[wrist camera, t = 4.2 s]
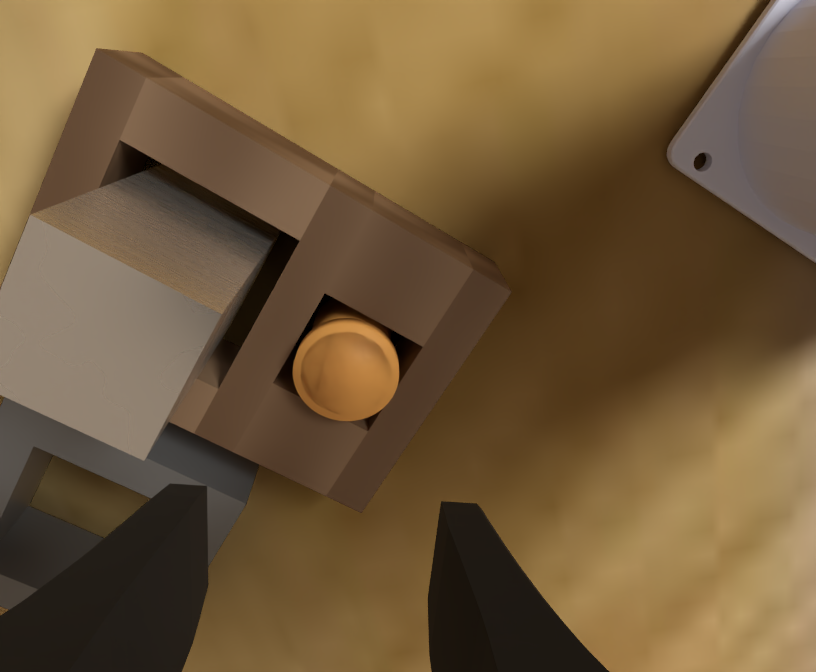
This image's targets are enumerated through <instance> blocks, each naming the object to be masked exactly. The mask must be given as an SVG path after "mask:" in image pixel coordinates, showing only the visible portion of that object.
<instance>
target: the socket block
mask: <svg viewBox="0 0 816 672" xmlns="http://www.w3.org/2000/svg"><path fill="white" fill-rule="evenodd" d="M148 156H150V157H151V158H153V159H155V160H157V161H159V162H160V163H162V164H164V165H166V166H167V167H169V168H171V169H173V170H175V171H176V172H178V173H180V174H182V175H184V176H185V177H187V178H189V179H191V180H192V181H194V182H196V183H198V184H200V185H201V186H203V187H205V188H207V189H208V190H210V191H212V192H214V193H216V194H217V195H219V196H221V197H223V198H225V199H226V200H228V201H230V202H232V203H233V204H235V205H237V206H239V207H241V208H242V209H244V210H246V211H248V212H249V213H251V214H253V215H255V216H257V217H258V218H260V219H262V220H264V221H266V222H267V223H269V224H271V225H273V226H274V227H276V228H278V229H280V230H282V231H283V232H285V233H287V234H289V235H290V236H292V237H294V238H296V239H298V240H299V243H298V245H297V246H296V248H295V250H294V252H293V254H292V255H291V257H290V259H289V261H288V263H287V265H286V266H285V268H284V270H283V272H282V274H281V276H280V277H279V279H278V281H277V283H276V285H275V286H274V288H273V290H272V292H271V294H270V296H269V297H268V299H267V301H266V303H265V305H264V307H263V308H262V310H261V312H260V314H259V316H258V317H257V319H256V321H255V323H254V325H253V327H252V328H251V330H250V332H249V334H248V336H247V337H246V339H245V341H244V343H243V345H242V347H239V346H237V345H235V344H233V343H231V342H229V341H227V340H225V339H223V338H222V339H221V341H220V343H219V344H218V346H217V347H216V349H215V350H214V352H213V354H212V355H211V357H210V358H209V360H208V361H207V363H206V365H205V366H204V368H203V369H202V371H201V372H200V374H199V376H198V377H197V379H196V380H195V382H194V383H193V385H192V387H191V388H190V390H189V391H188V393H187V394H186V396H185V398H184V399H183V401H182V402H181V404H180V405H179V407H178V409H177V410H176V412H175V413H174V415H173V416H172V418H171V420H170V421H169V422H171V423H173V424H175V425H177V426H179V427H181V428H183V429H185V430H188V431H190V432H192V433H194V434H196V435H198V436H200V437H202V438H204V439H207V440H209V441H211V442H213V443H215V444H217V445H219V446H221V447H223V448H225V449H228V450H230V451H232V452H234V453H236V454H238V455H240V456H242V457H244V458H247V459H249V460H251V461H253V462H255V463H257V464H259V465H261V466H263V467H265V468H268V469H270V470H272V471H274V472H276V473H278V474H280V475H282V476H284V477H287V478H289V479H291V480H293V481H295V482H297V483H299V484H301V485H303V486H306V487H308V488H310V489H312V490H314V491H316V492H318V493H320V494H322V495H324V496H327V497H329V498H331V499H333V500H335V501H337V502H339V503H341V504H343V505H346V506H348V507H350V508H352V509H354V510H356V511H358V512H360V513H362V512H363V510H364V509H365V507H366V506H367V504H368V503H369V501H370V500H371V498H372V497H373V495H374V494H375V492H376V491H377V490H378V488H379V487H380V485H381V484H382V482H383V481H384V479H385V478H386V476H387V475H388V473H389V472H390V470H391V469H392V467H393V466H394V464H395V463H396V462H397V460H398V459H399V457H400V456H401V454H402V453H403V451H404V450H405V448H406V447H407V445H408V444H409V442H410V441H411V439H412V438H413V437H414V435H415V434H416V432H417V431H418V429H419V428H420V426H421V425H422V423H423V422H424V420H425V419H426V417H427V416H428V414H429V413H430V412H431V410H432V409H433V407H434V406H435V404H436V403H437V401H438V400H439V398H440V397H441V395H442V394H443V392H444V391H445V389H446V388H447V387H448V385H449V384H450V382H451V381H452V379H453V378H454V376H455V375H456V373H457V372H458V370H459V369H460V367H461V366H462V364H463V363H464V362H465V360H466V359H467V357H468V356H469V354H470V353H471V351H472V350H473V348H474V347H475V345H476V344H477V342H478V341H479V339H480V338H481V337H482V335H483V334H484V332H485V331H486V329H487V328H488V326H489V325H490V323H491V322H492V320H493V319H494V317H495V316H496V314H497V313H498V312H499V310H500V309H501V307H502V306H503V304H504V303H505V301H506V300H507V298H508V297H509V295H510V294H511V290H510V288H509V286H508V285H507V283H506V281H505V279H504V278H503V276H502V274H501V272H500V271H499V269H498V267H497V266H496V264H495V262H493V261H492V260H490V259H488V258H487V257H485V256H483V255H482V254H480V253H478V252H476V251H475V250H473V249H471V248H470V247H468V246H466V245H465V244H463V243H461V242H460V241H458V240H456V239H455V238H453V237H451V236H450V235H448V234H446V233H445V232H443V231H441V230H439V229H438V228H436V227H434V226H433V225H431V224H429V223H428V222H426V221H424V220H423V219H421V218H419V217H418V216H416V215H414V214H413V213H411V212H409V211H407V210H406V209H404V208H402V207H401V206H399V205H397V204H396V203H394V202H392V201H391V200H389V199H387V198H386V197H384V196H382V195H381V194H379V193H377V192H375V191H374V190H372V189H370V188H369V187H367V186H365V185H364V184H362V183H360V182H359V181H357V180H355V179H354V178H352V177H350V176H349V175H347V174H345V173H344V172H342V171H340V170H338V169H337V168H335V167H333V166H332V165H330V164H328V163H327V162H325V161H323V160H322V159H320V158H318V157H317V156H315V155H313V154H312V153H310V152H308V151H306V150H305V149H303V148H301V147H300V146H298V145H296V144H295V143H293V142H291V141H290V140H288V139H286V138H285V137H283V136H281V135H280V134H278V133H276V132H274V131H273V130H271V129H269V128H268V127H266V126H264V125H263V124H261V123H259V122H258V121H256V120H254V119H253V118H251V117H249V116H248V115H246V114H244V113H243V112H241V111H239V110H237V109H236V108H234V107H232V106H231V105H229V104H227V103H226V102H224V101H222V100H221V99H219V98H217V97H216V96H214V95H212V94H211V93H209V92H207V91H205V90H204V89H202V88H200V87H199V86H197V85H195V84H194V83H192V82H190V81H189V80H187V79H185V78H184V77H182V76H180V75H179V74H177V73H175V72H174V71H172V70H170V69H168V68H167V67H165V66H163V65H162V64H160V63H158V62H157V61H155V60H153V59H152V58H150V57H148V56H147V55H145V54H143V53H139V52H128V51H118V50H108V49H98V48H96V51H95V53H94V56H93V58H92V61H91V63H90V66H89V68H88V71H87V73H86V76H85V78H84V81H83V83H82V86H81V88H80V91H79V93H78V96H77V98H76V101H75V103H74V106H73V108H72V111H71V113H70V116H69V118H68V121H67V123H66V126H65V128H64V131H63V133H62V136H61V138H60V141H59V143H58V146H57V148H56V151H55V153H54V156H53V158H52V161H51V163H50V166H49V168H48V171H47V173H46V176H45V178H44V181H43V183H42V186H41V188H40V191H39V193H38V196H37V198H36V201H35V203H34V206H33V208H32V211H31V213H30V215H31V214H33V213H36V212H39V211H41V210H44V209H46V208H49V207H52V206H54V205H57V204H59V203H62V202H65V201H67V200H70V199H72V198H75V197H78V196H80V195H83V194H85V193H88V192H91V191H93V190H96V189H98V188H101V187H104V186H106V185H109V184H111V183H114V182H117V181H119V180H122V179H124V178H127V177H130V176H132V175H135V174H137V173H140V172H141V171H142V169H143V167H144V165H145V162H146V160H147V158H148ZM29 217H30V216H29ZM28 219H29V218H28ZM27 222H28V221H27ZM26 224H27V223H26ZM25 227H26V226H25ZM24 229H25V228H24ZM23 232H24V231H23ZM22 234H23V233H22ZM21 237H22V236H21ZM20 239H21V238H20ZM19 242H20V241H19ZM18 244H19V243H18ZM17 247H18V246H17ZM16 249H17V248H16ZM15 252H16V251H15ZM14 254H15V253H14ZM13 257H14V256H13ZM12 259H13V258H12ZM11 262H12V261H11ZM10 264H11V263H10ZM9 267H10V266H9ZM8 269H9V268H8ZM7 272H8V271H7ZM6 274H7V273H6ZM5 277H6V276H5ZM4 279H5V278H4ZM3 282H4V281H3ZM2 284H3V283H2ZM1 287H2V286H1ZM0 289H1V288H0ZM325 293H326V294H327V295H329V296H331V297H333V298H335V299H337V300H338V301H340V302H342V303H344V304H346V305H348V306H349V307H351V308H353V309H355V310H357V311H359V312H360V313H362V314H364V315H366V316H368V317H369V318H371V319H373V320H375V321H377V322H379V323H380V324H382V325H384V326H386V327H388V328H390V329H391V330H393V331H395V332H397V333H399V334H401V335H402V337H401V339H400V340H399V342H398V343H397V345H396V346H395V349H396V352H397V355H398V360H399V381H398V386H397V389H396V391H395V394H394V395H393V397H392V399H391V400H390V401H389V403H388V404H387V405H386V406H385V407H384V408H383V409H381V410H380V411H379V412H377V413H376V414H374V415H372V416H370V417H367V418H364V419H361V420H356V421H338V420H333V419H330V418H326V417H324V416H322V415H320V414H318V413H316V412H315V411H313V410H312V409H311V408H310V407H309V406H308V405H306V404H305V402H304V401H303V400H302V399H301V397H300V395H299V394H298V392H297V390H296V387H295V384H294V380H293V364H294V360H295V356H296V353H297V350H298V347H296V346H295V344H296V342H297V340H298V339H299V337H300V335H301V334H302V332H303V330H304V328H305V327H306V325H307V323H308V321H309V320H310V318H311V316H312V315H313V313H314V311H315V309H316V308H317V306H318V304H319V302H320V301H321V299H322V297H323V295H324V294H325Z"/></svg>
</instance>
